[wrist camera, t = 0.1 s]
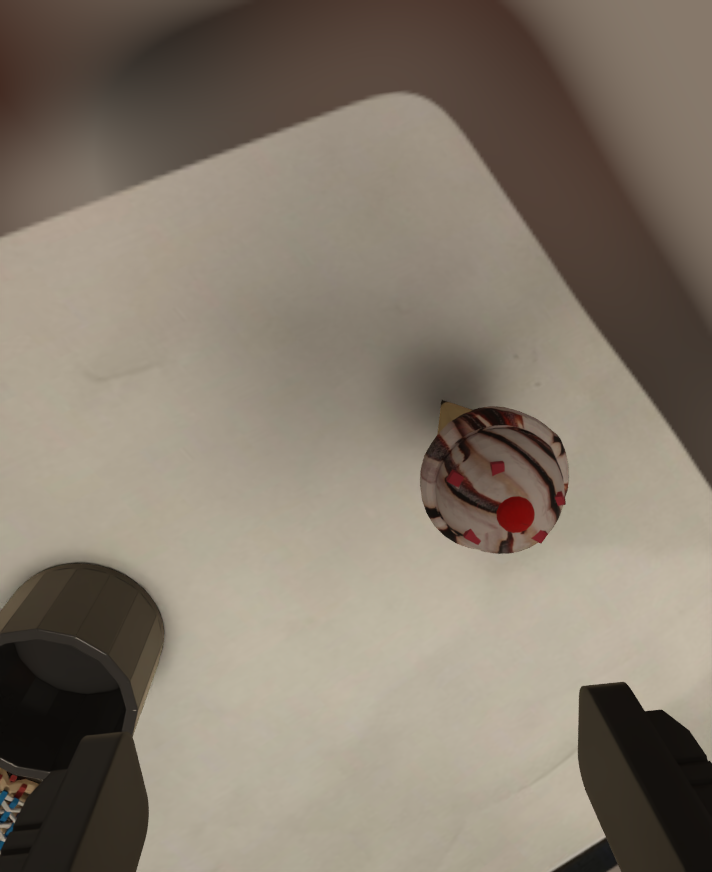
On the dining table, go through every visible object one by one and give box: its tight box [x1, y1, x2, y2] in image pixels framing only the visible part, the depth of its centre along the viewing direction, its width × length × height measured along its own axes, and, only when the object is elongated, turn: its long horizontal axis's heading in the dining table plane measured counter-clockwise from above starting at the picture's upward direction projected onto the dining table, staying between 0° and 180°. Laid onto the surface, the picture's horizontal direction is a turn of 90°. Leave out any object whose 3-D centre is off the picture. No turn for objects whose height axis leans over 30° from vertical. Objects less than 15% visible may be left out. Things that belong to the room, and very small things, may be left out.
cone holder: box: [0, 563, 164, 780], centre depth 37 cm, size 9×9×6 cm
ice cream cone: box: [420, 400, 569, 554], centre depth 29 cm, size 6×6×15 cm
